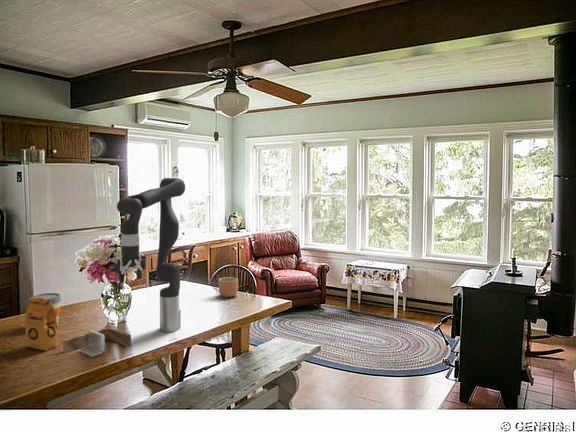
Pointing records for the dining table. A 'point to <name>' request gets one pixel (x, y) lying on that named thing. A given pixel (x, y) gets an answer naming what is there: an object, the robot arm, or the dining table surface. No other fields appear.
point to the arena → (108, 332)
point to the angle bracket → (94, 344)
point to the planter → (228, 286)
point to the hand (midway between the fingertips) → (130, 280)
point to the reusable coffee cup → (52, 301)
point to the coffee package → (41, 325)
